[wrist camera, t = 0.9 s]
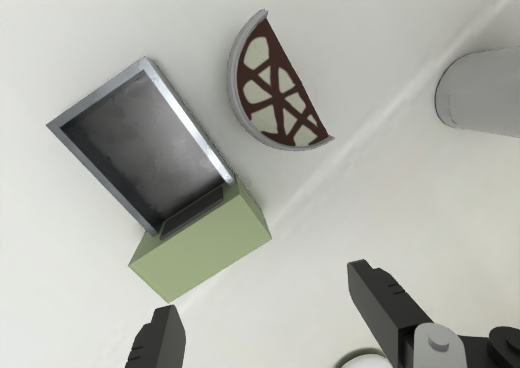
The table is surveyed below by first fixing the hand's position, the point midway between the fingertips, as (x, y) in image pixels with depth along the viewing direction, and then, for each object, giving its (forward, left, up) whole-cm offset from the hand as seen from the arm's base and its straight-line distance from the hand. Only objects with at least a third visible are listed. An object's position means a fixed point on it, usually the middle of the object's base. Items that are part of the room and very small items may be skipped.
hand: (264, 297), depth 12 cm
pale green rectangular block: (+8, +4, -22) cm, 24 cm away
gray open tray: (+7, -6, -22) cm, 24 cm away
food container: (-6, -5, -23) cm, 24 cm away
